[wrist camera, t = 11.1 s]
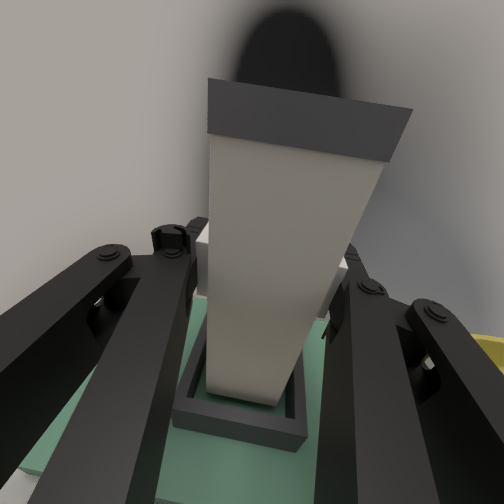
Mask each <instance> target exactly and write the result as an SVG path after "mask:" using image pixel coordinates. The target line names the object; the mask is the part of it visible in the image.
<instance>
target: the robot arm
mask: <svg viewBox="0 0 504 504" xmlns="http://www.w3.org/2000/svg"><path fill="white" fill-rule="evenodd" d="M151 235H152V242H153V247H154V253H153V255H134V256H131V252H130V250H129V248H128V247H126V246H124V245H119V244H108V245H104V246H101V247H98V248H96V249H94V250H92V251H90V252H89V253H88V254H86V255H85V256H83V257H82V258H81V259H79V260H78V261H76V262H75V263H73V264H72V265H71V266H69V267H68V268H67V269H65V270H64V271H62V272H61V273H59V274H58V275H57V276H55V277H54V278H53V279H51V280H50V281H48V282H47V283H45V284H44V285H43V286H41V287H40V288H38V289H37V290H36V291H34V292H33V293H31V294H30V295H29V296H27V297H26V298H24V299H23V300H21V301H20V302H19V303H17V304H16V305H14V306H13V307H12V308H10V309H9V310H7V311H6V312H5V313H3V314H2V315H0V490H1V488H2V487H3V486H4V484H5V483H6V482H7V481H8V479H9V478H10V477H11V475H12V474H13V473H14V471H15V470H16V469H17V468H18V466H19V465H20V464H21V462H22V461H23V460H24V458H25V457H26V456H27V455H28V453H29V452H30V451H31V449H32V448H33V447H34V445H35V444H36V443H37V442H38V440H39V439H40V438H41V436H42V435H43V434H44V432H45V431H46V430H47V429H48V427H49V426H50V425H51V423H52V422H53V421H54V420H55V418H56V417H57V416H58V414H59V413H60V412H61V410H62V409H63V408H64V407H65V405H66V404H67V403H68V401H69V400H70V399H71V397H72V396H73V395H74V394H75V392H76V391H77V390H78V388H79V387H80V386H81V384H82V383H83V382H84V381H85V379H86V378H87V377H88V375H89V374H90V373H91V371H92V370H93V369H94V368H95V366H96V365H97V366H96V368H95V370H94V372H93V374H92V376H91V378H90V380H89V382H88V384H87V386H86V388H85V390H84V392H83V394H82V396H81V398H80V400H79V402H78V404H77V406H76V408H75V410H74V412H73V414H72V416H71V418H70V419H69V421H68V423H67V425H66V427H65V429H64V431H63V433H62V435H61V437H60V439H59V441H58V443H57V445H56V447H55V449H54V451H53V453H52V455H51V457H50V459H49V461H48V463H47V465H46V467H45V469H44V471H43V473H42V475H41V477H40V479H39V481H38V483H37V485H36V487H35V489H34V491H33V493H32V495H31V497H30V499H29V501H28V503H27V504H154V501H155V495H156V490H157V485H158V480H159V475H160V470H161V464H162V459H163V454H164V449H165V444H166V439H167V433H168V428H169V423H170V418H171V413H172V408H173V402H174V397H175V392H176V387H177V382H178V377H179V371H180V366H181V361H182V356H183V351H184V346H185V340H186V335H187V330H188V325H189V320H190V315H191V309H192V304H193V292H194V290H195V288H196V286H197V295H201V296H207V294H208V236H209V218H203V217H197V218H195V219H193V220H191V221H190V222H189V224H188V225H187V227H184V226H181V225H175V224H170V225H169V224H168V225H163V226H159V227H157V228H155V229H154V230H153V231H152V232H151ZM100 298H101V300H100V301H99V302H98V303H97V304H95V303H96V302H97V301H98V300H99V299H100ZM94 304H95V305H94ZM328 310H329V313H330V321H329V322H328V324H327V326H326V328H325V330H324V332H323V334H322V337H321V339H323V340H324V338H325V336H326V342H325V355H324V369H323V382H322V396H321V409H320V422H319V436H318V449H317V463H316V476H315V490H314V503H313V504H504V374H503V373H502V372H501V371H500V370H499V368H498V367H497V366H496V365H495V363H494V362H493V361H492V360H491V359H490V357H489V356H488V355H487V354H486V353H485V351H484V350H483V349H482V348H481V347H480V345H479V344H478V343H477V342H476V341H475V339H474V338H473V337H472V336H471V334H470V333H469V332H468V331H467V330H466V328H465V327H464V326H463V325H462V324H461V322H460V321H459V320H458V319H457V318H456V317H455V315H454V314H452V313H451V312H450V311H449V310H448V309H446V308H445V307H444V306H442V305H441V304H439V303H436V302H434V301H431V300H427V299H417V300H415V301H414V302H413V303H412V304H411V306H409V305H406V304H404V303H401V302H398V301H396V300H394V299H391V298H389V296H388V293H387V291H386V289H385V288H384V287H383V286H382V285H381V284H380V283H378V282H377V281H375V280H373V279H371V278H369V276H368V274H367V272H366V270H365V268H364V265H363V264H362V262H361V259H360V257H359V256H358V253H357V250H356V248H355V247H353V246H352V245H351V244H350V243H349V245H348V248H347V250H346V252H345V254H344V256H343V259H342V261H341V263H340V265H339V268H338V270H337V272H336V274H335V277H334V279H333V281H332V283H331V285H330V288H329V290H328V292H327V294H326V297H325V299H324V301H323V303H322V306H321V308H320V310H319V312H318V314H317V317H319V318H325V316H326V314H327V312H328ZM429 356H430V358H431V360H432V362H433V363H434V365H435V366H434V367H433V368H432V369H429V368H428V367H427V365H426V364H425V362H424V361H425V360H426V359H427V358H428V357H429Z"/></svg>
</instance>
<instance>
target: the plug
mask: <svg viewBox="0 0 504 504" xmlns="http://www.w3.org/2000/svg"><path fill="white" fill-rule="evenodd" d="M412 111H413V109H409V108H402V107H396V106H390V105H383V104H376V103H370V102H363V101H357V100H350V99H344V98H337V97H331V96H324V95H317V94H311V93H304V92H298V91H291V90H284V89H278V88H271V87H264V86H257V85H251V84H245V83H239V82H232V81H225V80H218V79H212V78H208V131H207V132H208V133H209V134H210V177H209V180H210V181H209V182H210V183H209V236H208V294H207V352H206V392H208V393H212V394H217V395H222V396H227V397H232V398H237V399H241V400H246V401H251V402H256V403H261V404H266V405H270V406H275V407H276V406H277V404H278V402H279V399H280V397H281V395H282V393H283V390H284V388H285V386H286V384H287V381H288V379H289V377H290V375H291V373H292V370H293V368H294V366H295V364H296V361H297V359H298V357H299V355H300V352H301V350H302V348H303V346H304V343H305V341H306V339H307V337H308V335H309V332H310V330H311V328H312V326H313V323H314V321H315V319H316V317H317V314H318V312H319V310H320V308H321V306H322V303H323V301H324V299H325V297H326V294H327V292H328V290H329V288H330V285H331V283H332V281H333V279H334V277H335V274H336V272H337V270H338V268H339V265H340V263H341V261H342V259H343V256H344V254H345V252H346V250H347V248H348V245H349V243H350V241H351V239H352V236H353V234H354V232H355V230H356V227H357V225H358V223H359V220H360V218H361V216H362V214H363V212H364V209H365V207H366V205H367V203H368V201H369V198H370V196H371V194H372V192H373V189H374V187H375V185H376V183H377V181H378V178H379V176H380V174H381V171H382V169H383V167H384V165H385V163H386V162H388V163H389V162H390V159H391V157H392V155H393V153H394V150H395V148H396V146H397V144H398V142H399V140H400V137H401V135H402V133H403V131H404V129H405V126H406V124H407V122H408V120H409V118H410V116H411V113H412Z"/></svg>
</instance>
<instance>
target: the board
mask: <svg viewBox="0 0 504 504" xmlns="http://www.w3.org/2000/svg"><path fill="white" fill-rule="evenodd" d="M327 324H328V322H325V321H320V320H315V321H314V323H313V326H312V328H311V330H310V332H309V335H308V337H307V339H306V341H305V343H304V346H303V348H302V350H301V352H300V355H299V357H298V359H297V361H296V364H295V366H294V368H293V370H292V373H291V375H290V377H289V379H288V381H287V384H286V386H285V388H284V390H283V393H282V395H281V397H280V399H279V402H278V404H277V406H276V407H275V406H270V405H266V404H261V403H256V402H251V401H246V400H241V399H237V398H232V397H227V396H222V395H217V394H212V393H208V392H206V352H207V299H203V298H198V297H193V304H192V309H191V315H190V320H189V325H188V330H187V335H186V340H185V346H184V351H183V356H182V361H181V366H180V371H179V377H178V382H177V387H176V392H175V397H174V402H173V408H172V413H171V418H170V423H169V428H168V433H167V439H166V444H165V449H164V454H163V459H162V464H161V470H160V475H159V480H158V485H157V490H156V495H155V501H154V502H157V503H161V504H313V503H314V490H315V476H316V463H317V449H318V436H319V422H320V409H321V396H322V382H323V369H324V355H325V342H326V336H325V338H324V340H323V339H321V337H322V334H323V332H324V330H325V328H326V326H327ZM96 366H97V365H96ZM96 366H95V368H96ZM95 368H94V369H93V370H92V371H91V373H90V374H89V375H88V377H87V378H86V379H85V381H84V382H83V383H82V384H81V386H80V387H79V388H78V390H77V391H76V392H75V394H74V395H73V396H72V397H71V399H70V400H69V401H68V403H67V404H66V405H65V407H64V408H63V409H62V410H61V412H60V413H59V414H58V416H57V417H56V418H55V420H54V421H53V422H52V423H51V425H50V426H49V427H48V429H47V430H46V431H45V432H44V434H43V435H42V436H41V438H40V439H39V440H38V442H37V443H36V444H35V445H34V447H33V448H32V449H31V451H30V452H29V453H28V455H27V456H26V457H25V458H24V460H23V461H22V462H21V464H20V465H19V466H18V469H20V470H22V471H24V472H25V473H29V474H33V475H37V476H41V475H42V473H43V471H44V469H45V467H46V465H47V463H48V461H49V459H50V457H51V455H52V453H53V451H54V449H55V447H56V445H57V443H58V441H59V439H60V437H61V435H62V433H63V431H64V429H65V427H66V425H67V423H68V421H69V419H70V418H71V416H72V414H73V412H74V410H75V408H76V406H77V404H78V402H79V400H80V398H81V396H82V394H83V392H84V390H85V388H86V386H87V384H88V382H89V380H90V378H91V376H92V374H93V372H94V370H95Z"/></svg>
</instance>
